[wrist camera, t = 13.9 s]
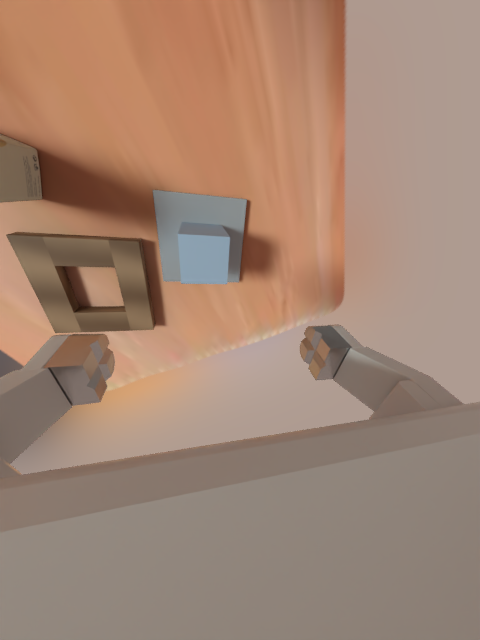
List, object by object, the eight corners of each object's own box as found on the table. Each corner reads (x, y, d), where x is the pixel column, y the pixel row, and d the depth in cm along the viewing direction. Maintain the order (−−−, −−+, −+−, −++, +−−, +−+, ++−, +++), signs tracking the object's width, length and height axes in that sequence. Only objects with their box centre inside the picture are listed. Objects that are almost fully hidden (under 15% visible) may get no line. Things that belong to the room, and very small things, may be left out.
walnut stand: (17, 232, 21) (6, 234, 20) (141, 238, 23) (138, 241, 22) (61, 326, 27) (55, 333, 26) (155, 323, 30) (153, 329, 29)
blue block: (181, 222, 23) (177, 233, 17) (221, 224, 24) (230, 237, 18) (184, 261, 25) (181, 283, 19) (219, 262, 26) (227, 284, 20)
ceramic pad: (153, 189, 21) (152, 189, 21) (245, 199, 23) (246, 199, 23) (164, 279, 26) (163, 281, 26) (238, 280, 29) (238, 282, 28)
